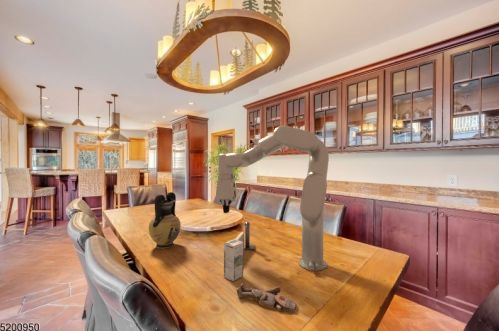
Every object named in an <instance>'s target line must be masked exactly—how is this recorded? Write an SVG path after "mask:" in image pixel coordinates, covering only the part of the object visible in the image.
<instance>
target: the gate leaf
mask: <svg viewBox="0 0 499 331" xmlns="http://www.w3.org/2000/svg"><path fill="white" fill-rule="evenodd" d="M234 240H238V241H241V242H243V249H245V232H244V231H241V232H240V233H238V235H237V236H236V237H235V238H234Z"/></svg>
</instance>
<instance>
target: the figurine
mask: <svg viewBox="0 0 499 331" xmlns="http://www.w3.org/2000/svg"><path fill="white" fill-rule="evenodd" d="M281 292H282V288H281V286H276V287H273V288H268V289H265V290H260V289H256V288H249V287H246V285H245V282H242V283H241V284H240V286H238V287H237V289H236V295H237V297H238V299H245V298H246V299H251V300H253V301H255V302H258V303H259V305H260V306H262V307H264V308H268V309H272V310H274V309H276V311H277V312H285V313H291V314H294V313H295V310H296V307H297V302H295V301H293V300H292V299H290V298H288V297H285V296H282V295H280V293H281Z"/></svg>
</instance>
